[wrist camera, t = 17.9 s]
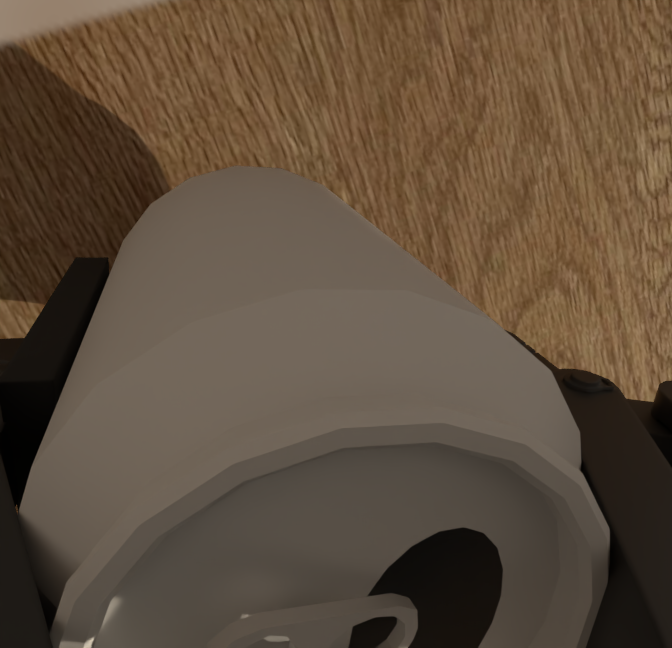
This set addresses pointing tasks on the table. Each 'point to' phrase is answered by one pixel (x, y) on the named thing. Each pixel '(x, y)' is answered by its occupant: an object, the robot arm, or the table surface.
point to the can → (304, 447)
